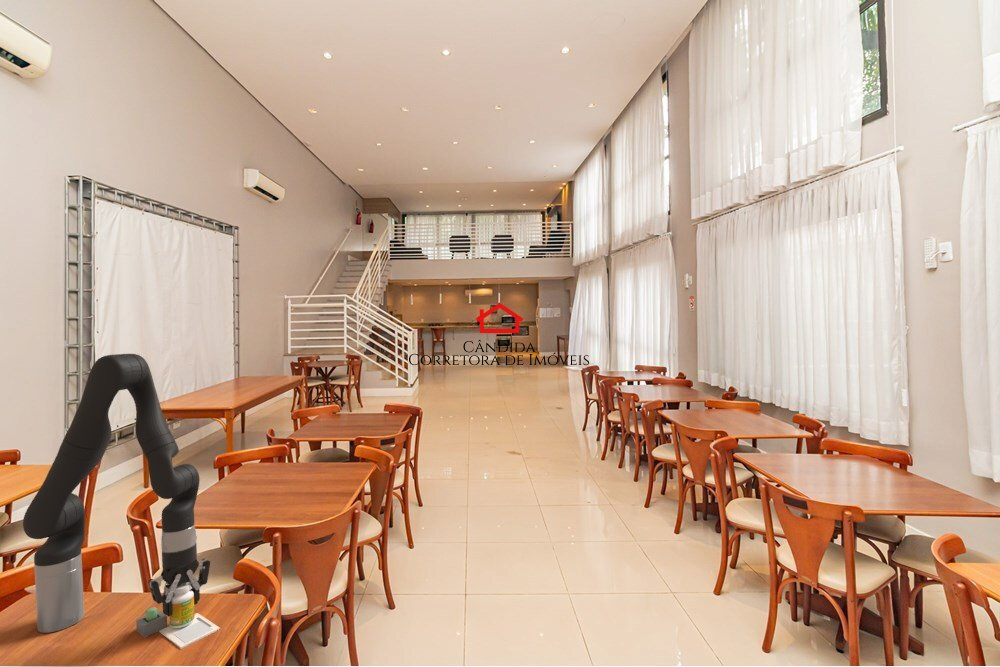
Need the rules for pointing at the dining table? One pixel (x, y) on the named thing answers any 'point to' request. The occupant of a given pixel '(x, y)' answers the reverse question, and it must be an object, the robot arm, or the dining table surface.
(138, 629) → the button housing
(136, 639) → the dining table surface
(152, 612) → the button
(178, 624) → the supplement bottle
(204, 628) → the white flat block
